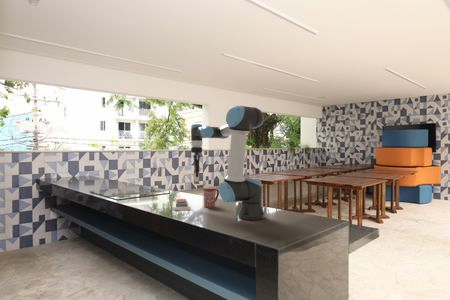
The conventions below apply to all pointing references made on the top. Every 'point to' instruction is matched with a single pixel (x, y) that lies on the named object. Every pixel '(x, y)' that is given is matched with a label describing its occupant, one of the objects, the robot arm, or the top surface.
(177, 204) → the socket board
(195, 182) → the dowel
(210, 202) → the mug
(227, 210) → the top surface
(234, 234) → the top surface
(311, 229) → the top surface
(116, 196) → the top surface
